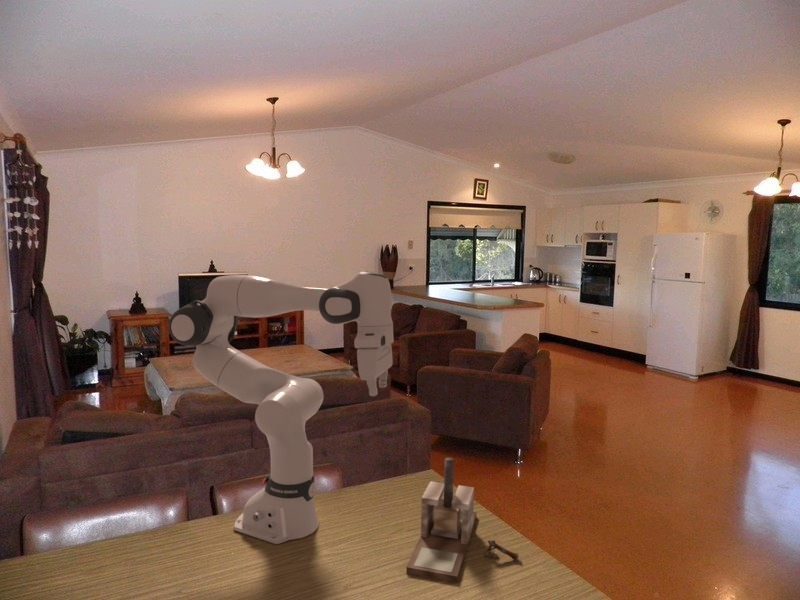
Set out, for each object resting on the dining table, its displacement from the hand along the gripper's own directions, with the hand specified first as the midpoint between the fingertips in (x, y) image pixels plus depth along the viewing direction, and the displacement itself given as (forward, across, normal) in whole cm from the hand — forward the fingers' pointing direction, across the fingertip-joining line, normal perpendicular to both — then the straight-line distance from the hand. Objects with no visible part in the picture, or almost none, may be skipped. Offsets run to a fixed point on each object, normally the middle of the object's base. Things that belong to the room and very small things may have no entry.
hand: (378, 391), depth 139 cm
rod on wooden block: (+39, -9, +15) cm, 42 cm away
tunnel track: (+41, -5, +14) cm, 43 cm away
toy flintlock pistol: (+42, -1, +29) cm, 51 cm away
